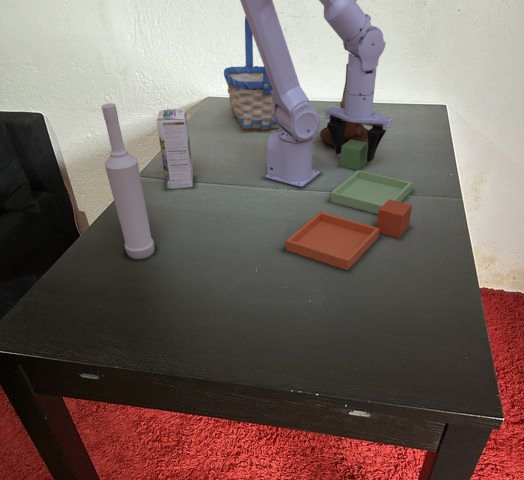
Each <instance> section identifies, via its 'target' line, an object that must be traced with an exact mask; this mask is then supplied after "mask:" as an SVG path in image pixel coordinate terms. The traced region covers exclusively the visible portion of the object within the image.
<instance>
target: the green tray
mask: <svg viewBox="0 0 524 480" xmlns="http://www.w3.org/2000/svg"><path fill="white" fill-rule="evenodd" d="M412 189H413V182H411V181H406V180H403V179H398V178H394V177H390V176H387V175H382V174H377V173H373V172H369V171H365V170H360V169H359V170H356V171H355V172H354V173H352V174H351V175H350V176H349V177H348V178H347V179H345V180H343V182H342V183H340V184H339V185H338V186H337V187H336V188H335V189H333V190H332V191H331V192H330V200H329V201H330V202H331V203H335V204H339V205H342V206H346V207H350V208H354V209H356V210H361V211H364V212H368V213H372V214H376V215H378V211H379V209H380V208H381V207H382V206H383V205H384V204H385V203H386V202H387V201H388V200H389V199H390V200H394V201H398V202H402V201H404V199H406V197H407V196H408V195H409V194H410V193H412Z"/></svg>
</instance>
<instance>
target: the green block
mask: <svg viewBox="0 0 524 480" xmlns="http://www.w3.org/2000/svg"><path fill="white" fill-rule="evenodd" d="M367 152H368V142H366V141H365V142H361V141H356V140H352V139H351V140H349V141H348V142H347V143H345V144H344V145H342V147H341V153H340V163H339V166H340V167H343V168H347V169H351V170H356V171H358V170H360V169H362V168H363V167H364V166H365V165H367V164H368V161H367Z"/></svg>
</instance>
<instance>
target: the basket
mask: <svg viewBox="0 0 524 480" xmlns="http://www.w3.org/2000/svg"><path fill="white" fill-rule="evenodd" d="M253 41H254V37H253V34H252V31H251V29H250V26H249V23H248V20H247V18H246V15H245V16H244V47H245V48H244V49H245V54H244V55H245V65H243V66H230V67H226V68H224V70H223V76H224V80H225V82H226V85H227V94H229V95H228V96H229V97H228V99H229V102H230V103H229V106H230V109H231V113H232V114H233V115H234V117H236V121H237V123H238V124H240V125H241V127H242V129H243V130H249V129H260V130H263V131H264V130H265V131H268V130H277V129H279V125H278V124H277V123H276V121H275V119H274V104H273V100H272V96H273V94H274V92H273V89H272V86H271V84H270V81H269V78H268V75H267V73H266V70H265V67H264V66H259V65H255V66H254V49H253V48H254V45H253V44H254V43H253Z"/></svg>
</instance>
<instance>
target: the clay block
mask: <svg viewBox="0 0 524 480" xmlns="http://www.w3.org/2000/svg"><path fill="white" fill-rule="evenodd" d="M412 209H413V204H409V203H405V202H402V201H401V202H398V201H394V200H390V199H389V200H388V201H387V202H386V203H385V204H384V205H383V206H382V207H381V208H380V209H379V211H378V214H377V219H376V226H375V227H376V228H380V230H379V234H383V235H386V236H390V237H393V238H397V239H400V237H401V236H402V235H403V234H404V233H405V232H406V231H407V230H408V228H409V227H410V220H411V215H412Z"/></svg>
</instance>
